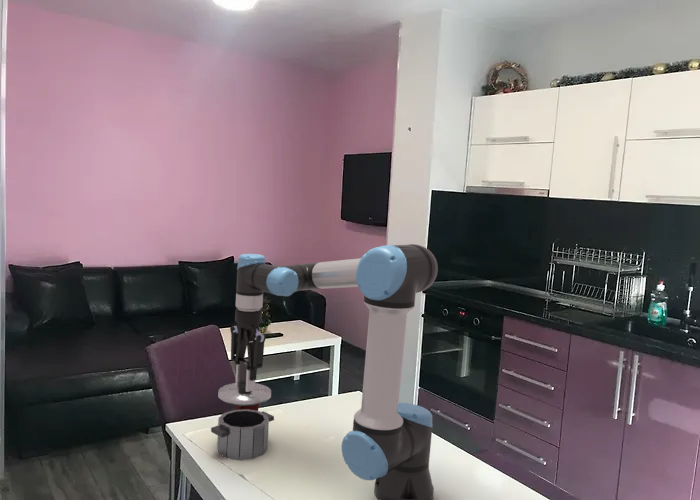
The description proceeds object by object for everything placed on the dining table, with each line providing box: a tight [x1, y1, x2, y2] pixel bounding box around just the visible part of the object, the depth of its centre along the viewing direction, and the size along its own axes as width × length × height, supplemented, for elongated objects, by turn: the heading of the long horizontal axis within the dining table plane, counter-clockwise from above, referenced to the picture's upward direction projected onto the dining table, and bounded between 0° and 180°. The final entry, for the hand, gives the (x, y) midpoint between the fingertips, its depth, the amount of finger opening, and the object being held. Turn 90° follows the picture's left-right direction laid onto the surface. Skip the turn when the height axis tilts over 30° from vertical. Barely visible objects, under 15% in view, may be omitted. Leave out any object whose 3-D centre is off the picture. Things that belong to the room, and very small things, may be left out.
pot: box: [210, 409, 275, 461], centre depth 166 cm, size 14×19×9 cm
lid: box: [217, 358, 272, 406], centre depth 165 cm, size 15×15×12 cm
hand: (245, 388), depth 165 cm, fingers closed on lid, 4 cm apart
